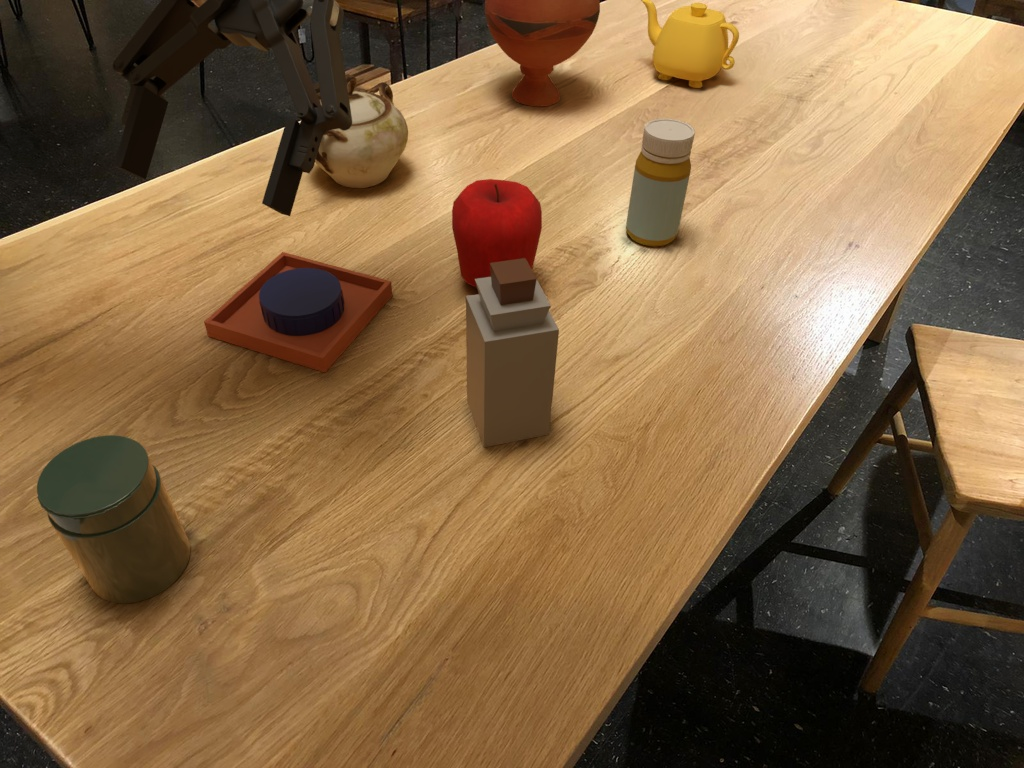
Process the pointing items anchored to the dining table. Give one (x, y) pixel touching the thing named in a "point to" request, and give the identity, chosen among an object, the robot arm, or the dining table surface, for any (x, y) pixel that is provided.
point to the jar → (115, 518)
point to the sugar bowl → (365, 139)
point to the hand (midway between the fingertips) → (200, 191)
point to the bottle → (660, 182)
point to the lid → (301, 301)
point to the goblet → (540, 39)
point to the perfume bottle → (510, 354)
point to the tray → (316, 351)
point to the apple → (495, 226)
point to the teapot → (691, 43)
